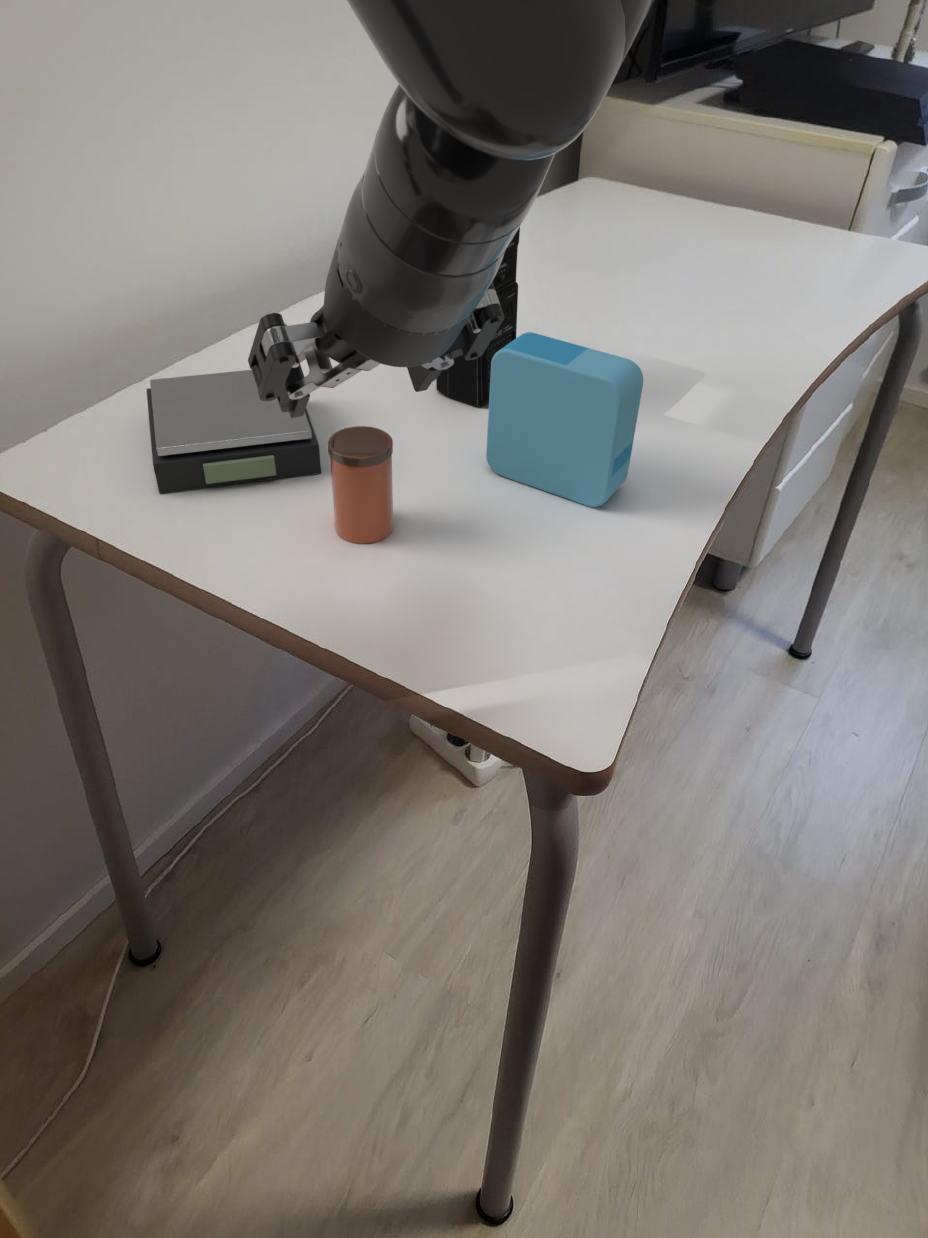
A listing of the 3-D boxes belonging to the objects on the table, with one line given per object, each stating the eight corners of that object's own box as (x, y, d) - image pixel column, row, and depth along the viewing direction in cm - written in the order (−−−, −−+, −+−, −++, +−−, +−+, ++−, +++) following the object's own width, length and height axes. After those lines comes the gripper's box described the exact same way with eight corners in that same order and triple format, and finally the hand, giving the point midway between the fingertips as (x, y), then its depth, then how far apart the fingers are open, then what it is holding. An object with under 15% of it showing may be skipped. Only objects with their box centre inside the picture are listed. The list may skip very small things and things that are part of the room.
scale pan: (158, 456, 79) (156, 448, 78) (151, 387, 88) (149, 379, 88) (312, 438, 82) (311, 430, 81) (289, 373, 91) (289, 365, 91)
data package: (626, 489, 83) (647, 362, 75) (604, 513, 80) (624, 383, 72) (508, 450, 88) (517, 326, 80) (484, 471, 85) (490, 345, 77)
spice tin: (340, 548, 75) (334, 462, 70) (329, 514, 79) (322, 429, 74) (400, 539, 76) (399, 454, 71) (387, 506, 80) (384, 422, 75)
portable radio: (478, 414, 93) (491, 138, 77) (428, 397, 95) (430, 126, 79) (518, 385, 98) (539, 121, 82) (470, 369, 100) (480, 110, 84)
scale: (159, 497, 80) (153, 466, 78) (152, 416, 90) (146, 388, 88) (322, 476, 83) (320, 446, 81) (296, 401, 94) (294, 373, 92)
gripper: (519, 171, 48) (436, 319, 64) (249, 206, 44) (229, 356, 59) (566, 305, 48) (471, 422, 63) (297, 355, 43) (265, 468, 58)
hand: (354, 390), depth 61 cm, fingers open, 8 cm apart
